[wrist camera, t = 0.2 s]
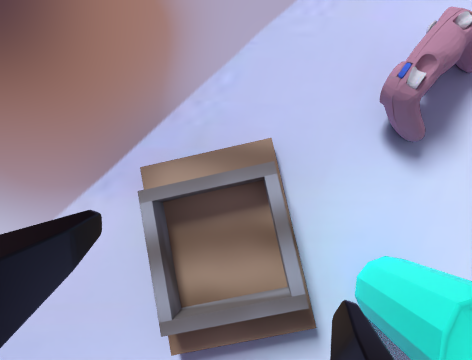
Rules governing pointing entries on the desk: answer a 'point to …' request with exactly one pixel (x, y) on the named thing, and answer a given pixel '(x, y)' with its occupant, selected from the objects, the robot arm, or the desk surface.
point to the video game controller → (427, 70)
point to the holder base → (222, 249)
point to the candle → (418, 308)
